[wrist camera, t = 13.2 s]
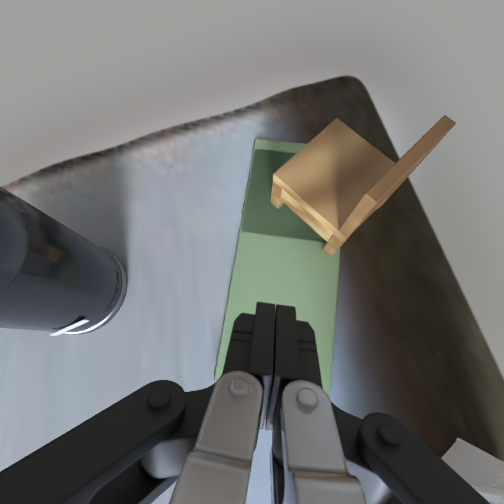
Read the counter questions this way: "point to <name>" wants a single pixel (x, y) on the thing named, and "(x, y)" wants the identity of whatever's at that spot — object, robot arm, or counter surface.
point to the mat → (281, 260)
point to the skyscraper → (477, 470)
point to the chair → (345, 179)
